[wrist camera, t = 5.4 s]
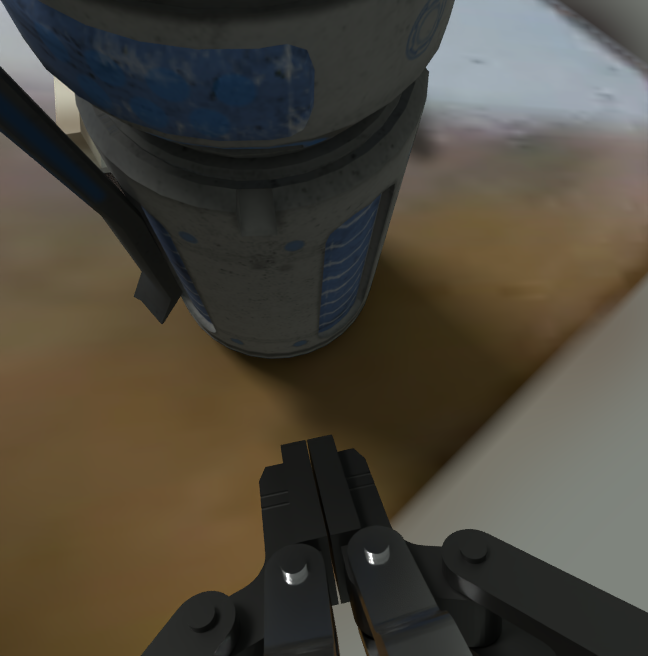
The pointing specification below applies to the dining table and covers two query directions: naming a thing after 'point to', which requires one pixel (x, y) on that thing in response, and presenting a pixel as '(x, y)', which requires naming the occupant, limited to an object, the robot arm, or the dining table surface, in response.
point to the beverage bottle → (237, 147)
